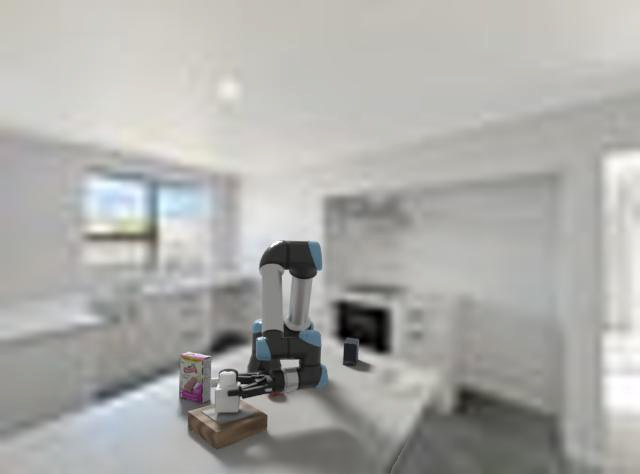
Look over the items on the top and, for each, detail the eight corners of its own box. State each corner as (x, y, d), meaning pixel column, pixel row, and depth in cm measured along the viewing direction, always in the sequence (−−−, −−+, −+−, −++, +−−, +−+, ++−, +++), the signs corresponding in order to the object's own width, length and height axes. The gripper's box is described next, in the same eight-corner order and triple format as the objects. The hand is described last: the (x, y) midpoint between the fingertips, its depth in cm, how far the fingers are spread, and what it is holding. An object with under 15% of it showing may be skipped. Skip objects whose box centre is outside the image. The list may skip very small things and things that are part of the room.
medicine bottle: (218, 403, 141) (218, 366, 141) (240, 403, 142) (241, 366, 142) (214, 412, 134) (215, 374, 134) (237, 412, 135) (238, 374, 135)
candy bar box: (178, 398, 161) (179, 354, 161) (187, 393, 166) (188, 350, 165) (202, 404, 156) (203, 359, 156) (211, 399, 161) (212, 355, 160)
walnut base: (187, 426, 139) (188, 410, 139) (236, 411, 151) (236, 396, 151) (216, 449, 126) (216, 431, 126) (267, 430, 138) (267, 414, 138)
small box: (356, 366, 204) (357, 344, 204) (342, 364, 205) (343, 342, 205) (358, 359, 214) (359, 338, 214) (345, 358, 216) (346, 337, 215)
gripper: (292, 404, 135) (219, 414, 126) (272, 380, 155) (208, 387, 146) (293, 380, 135) (219, 388, 126) (273, 359, 155) (208, 365, 146)
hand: (213, 388), depth 136 cm, fingers closed on medicine bottle, 9 cm apart
